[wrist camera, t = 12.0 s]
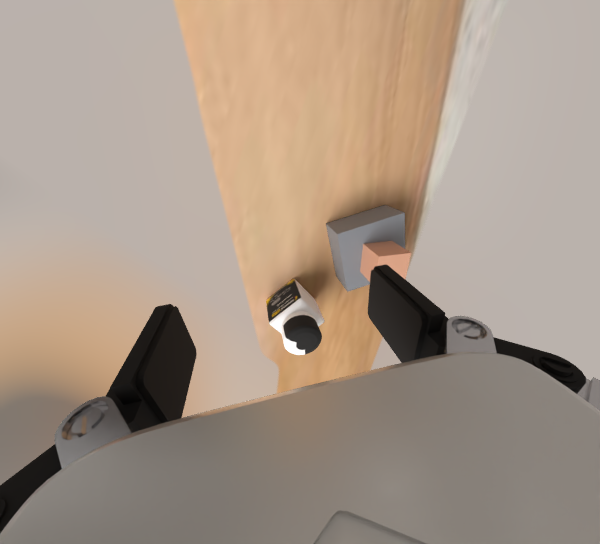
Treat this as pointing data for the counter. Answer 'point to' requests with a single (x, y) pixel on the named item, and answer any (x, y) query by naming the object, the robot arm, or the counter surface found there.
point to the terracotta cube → (384, 257)
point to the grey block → (362, 240)
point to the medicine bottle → (295, 318)
